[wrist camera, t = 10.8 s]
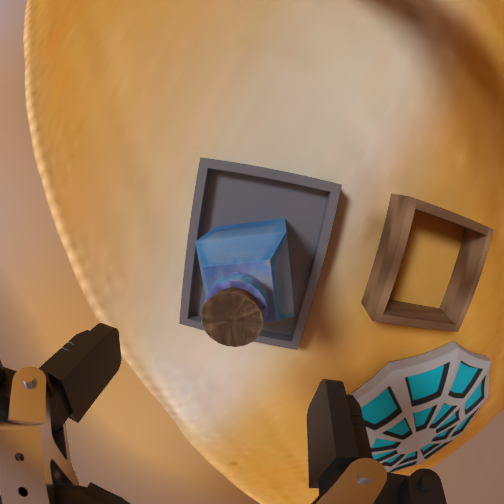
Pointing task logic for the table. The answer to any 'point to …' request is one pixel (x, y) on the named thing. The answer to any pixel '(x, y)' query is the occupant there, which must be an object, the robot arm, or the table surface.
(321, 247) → the tray
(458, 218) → the holder
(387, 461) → the decorative platform
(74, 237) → the table surface
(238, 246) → the perfume bottle
